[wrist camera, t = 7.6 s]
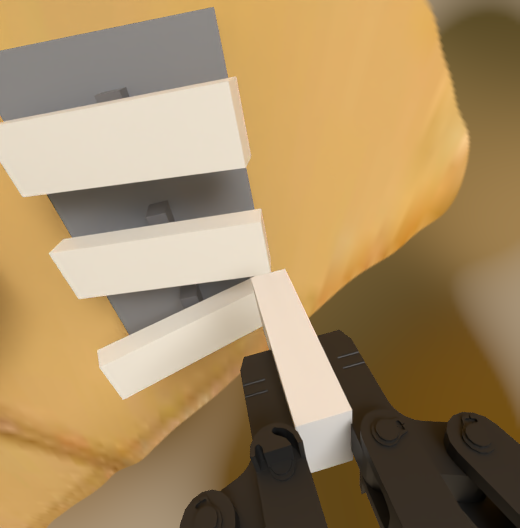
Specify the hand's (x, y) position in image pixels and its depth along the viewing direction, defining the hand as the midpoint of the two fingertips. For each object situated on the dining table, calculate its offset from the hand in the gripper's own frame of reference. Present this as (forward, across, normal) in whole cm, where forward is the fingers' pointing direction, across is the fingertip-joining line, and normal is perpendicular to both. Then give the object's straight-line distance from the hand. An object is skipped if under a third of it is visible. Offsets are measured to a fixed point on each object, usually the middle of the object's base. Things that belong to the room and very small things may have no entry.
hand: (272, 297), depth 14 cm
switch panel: (+14, -5, 0) cm, 14 cm away
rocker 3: (+6, -5, -6) cm, 10 cm away
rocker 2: (+6, -5, 0) cm, 8 cm away
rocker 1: (+6, -5, +6) cm, 10 cm away
